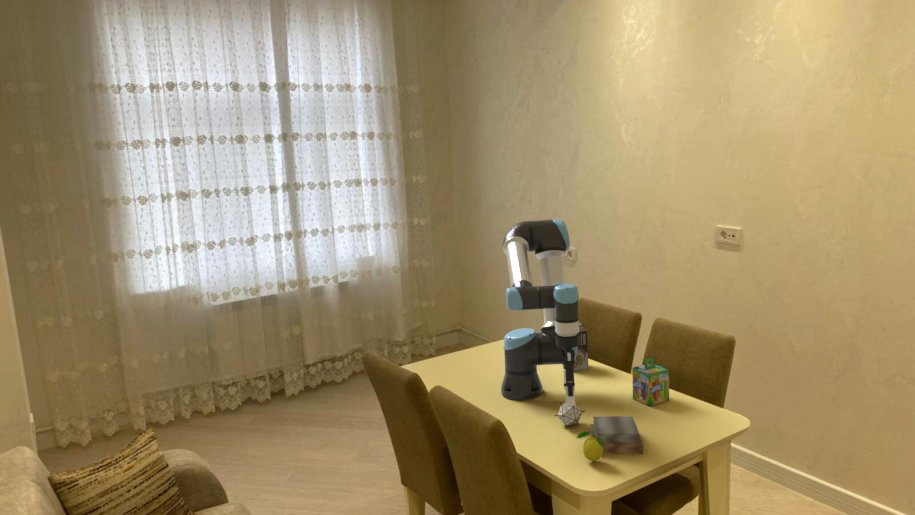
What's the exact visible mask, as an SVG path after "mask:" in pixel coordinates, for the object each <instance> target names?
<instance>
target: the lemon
mask: <svg viewBox="0 0 915 515" xmlns="http://www.w3.org/2000/svg"><path fill="white" fill-rule="evenodd" d="M591 433H592V437H591V436H590V437H588V438H587V439H585V440H584V443H583V446H582V452H583V455H584V458H586V459H587V460H588V461H591V463H595V462H596V461H599V460H601V458H602V457H603V456H602V455H603V454H602V453H603V449H602V445H601V443H600V441H601V442H602V443H603V444H604V445H605V443H604V441H603V440H602V439H601V438H599V437H596V436H594V435H593V429H592V432H591ZM589 435H591V434H590V432H588V431H585V430H584V431H581V432H580V433H578V434H577V437H576V439H582V438H585V437H587V436H589ZM593 436H594V437H596V438H594V437H593ZM605 447H606V445H605ZM606 448H607V447H606Z"/></svg>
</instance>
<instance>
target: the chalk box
mask: <svg viewBox="0 0 915 515" xmlns="http://www.w3.org/2000/svg"><path fill="white" fill-rule="evenodd" d="M649 362H650V363H649ZM631 369H632V370H631V371H632V400H635V401H638V402H639V403H642V404H644V405H647V406H649V407H652V406H655V405H659V404H662V403H666V401H667V402H669V401H670V370H669V368H668V369H667V368H665V367H663V366H661V365H657V364H656V363H655V358H654V357H650V358H646V359H643V364H642V365H638V366H634V367H632V368H631Z"/></svg>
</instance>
